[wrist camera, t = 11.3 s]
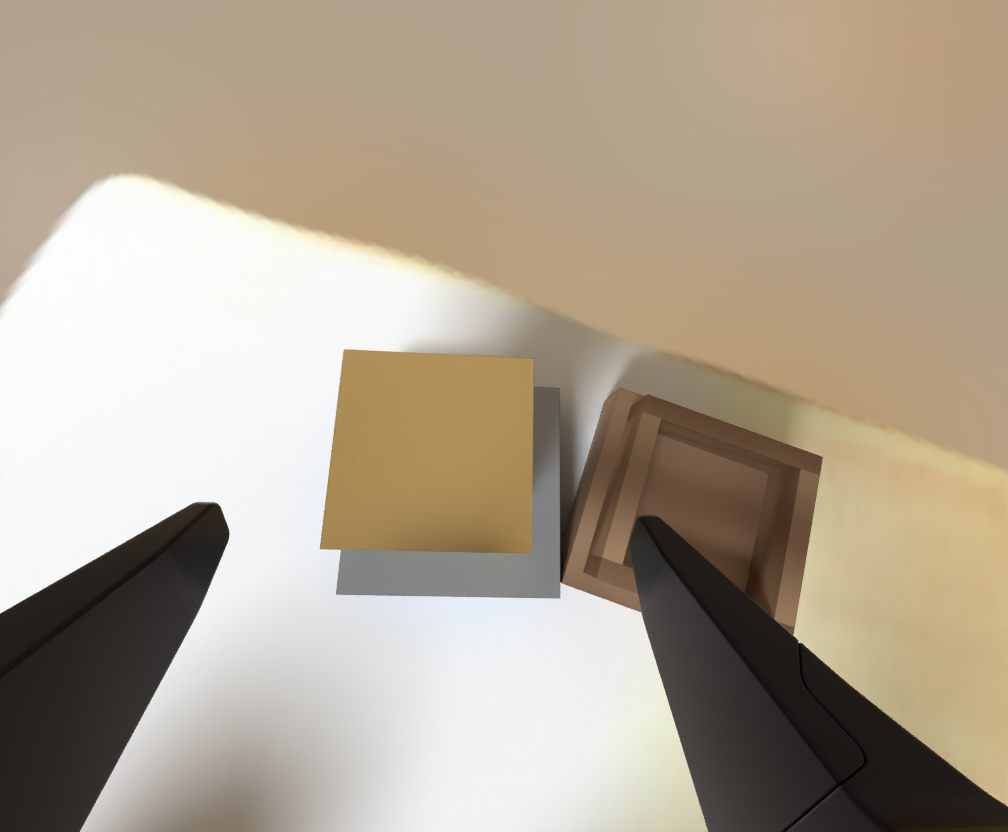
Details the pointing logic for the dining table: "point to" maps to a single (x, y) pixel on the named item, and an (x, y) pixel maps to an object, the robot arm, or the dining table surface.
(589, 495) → the walnut holder
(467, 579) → the slate plinth
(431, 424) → the brass bar
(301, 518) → the dining table surface
